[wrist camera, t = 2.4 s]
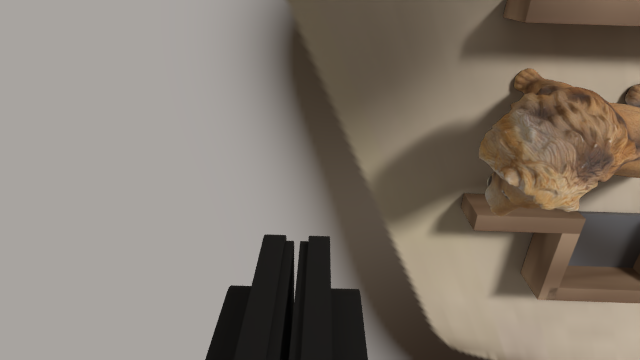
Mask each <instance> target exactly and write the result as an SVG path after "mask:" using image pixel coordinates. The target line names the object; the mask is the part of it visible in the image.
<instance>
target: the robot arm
mask: <svg viewBox="0 0 640 360" xmlns="http://www.w3.org/2000/svg"><path fill="white" fill-rule="evenodd" d="M330 272H331V271H330V237H329V236H327V237H326V236H309V242H308V241H301V242H300V251H299V260H298V271H297V281H296V291H295V302H294V241H286V235H264V238H263V242H262V247H261V250H260V254H259V258H258V262H257V266H256V270H255V275H254V279H253V283H252V286H230V287H229V289H228V291H227V294H226V297H225V300H224V303H223V307H222V310H221V313H220V316H219V319H218V322H217V325H216V328H215V331H214V335H213V337H212V341H211V344H210V347H209V350H208V353H207V356H206V359H205V360H368V357H367V348H366V340H365V331H364V322H363V313H362V305H361V296H360V291H359V289H331V273H330Z"/></svg>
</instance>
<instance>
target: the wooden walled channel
mask: <svg viewBox="0 0 640 360" xmlns="http://www.w3.org/2000/svg"><path fill="white" fill-rule="evenodd" d="M503 17H504V18H508V19H512V20H517V21H521V22H525V23H556V24H588V25H620V26H640V0H507V2H506V6H505V11H504V15H503ZM461 209H462V210H463V212H464V214H465V216H466V217H467V219H468V221H469V223H470V224H471V226H472V228H473V230H479V231H508V232H534V234H533V237H532V240H531V243H530V246H529V249H528V252H527V255H526V258H525V261H524V264H523V267H522V270H521V274H522V276H523V278H524V279H525V281H526V282H527V284H528V285H529V287H530V288H531V290H532V292H533V293H534V295H535V296H536V298H537V299H538V300H563V301H591V302H619V303H640V214H639V213H609V212H580V211H570V212H565V211H563V210H562V209H556V208H554V209H552V210H546V209H541V207H539V208H533V209H527V208H522V207H521V208H518V209H516V210H513V211H512V212H510V213H509V214H507V215H505V216H500V217H499V216H496V215H495V214H493V213H492V212H491V209H490V205H489V204H488V202H487V200H486V197H485V194H467V193H464V196H463V200H462V205H461Z"/></svg>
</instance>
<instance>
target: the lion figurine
mask: <svg viewBox="0 0 640 360" xmlns="http://www.w3.org/2000/svg"><path fill="white" fill-rule="evenodd" d="M514 87H515V88H516V89H517V90H519V91H522V92H524V94H525V95H524V96H523V97H522V98H521V99H520V101H518V102H514V103H512V104H511V110H510V112H509V113H508V114H506V115H504V116H503V117H502V118H501V119H500V120H499V121H497V123H496V124H494V125H493V126H492V129H491V130H489V131H488V132H487V133H486V134H485V137H484V139H483V140H482V142H481V146H480V148H479V158H480V159H482V160H483V161H485V162H486V163H487V164H488V165H489V166H490V167H491V168H492V169H493V170H494V172H493V173H492V174H491V175H490V177H489V178H488V180H487V185H488V188H487V189H486V192H485V197H486V200H487V202H488V204H489V205H490V209H491V212H492V213H493V214H495V215H496V216H499V217H500V216H505V215H507V214H509V213H510V212H512V211H513V210H516V209H518V208H521V207H522V208H527V209H533V208H539V207H541V209H546V210H552V209H554V208H556V209H562V210H563V211H565V212H570V211H577V210H578V209H579V199H580V198H581V197H582V196H583V195H584V194H585V193H587V192H589V191H590V190H591V189H592V188H595V187H596V186H597V185H598V181H600V182H605V181H607V180H608V179H609V178H610V177H611V176H612V175H613V174H614V175H620V176H627V177H636V178H640V84H637V85H634V86H632V87H631V88H630V89H629V91H628V93H627V94H626V96H625V101H626V103H627V104H628V105H626V104H618V103H609V102H607V101H606V100H604V99H603V98H602V97H601V96H600V95H598V94H597V93H595V92H593V91H591V90H587V89H583V88H579V87H573V86H571V85H568V84H566V83H562V82H557V81H553V80H548V79H544V78H542V77H541V76H540V75H539V74H538V73H537V72H536V71H535V70H533V69H528V68H527V69H525V70H523V71H521V72H520V73H519V74H518V75H517V76H516V77H515V83H514Z"/></svg>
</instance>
